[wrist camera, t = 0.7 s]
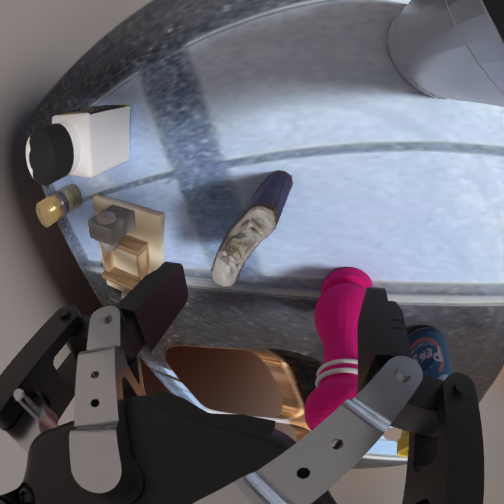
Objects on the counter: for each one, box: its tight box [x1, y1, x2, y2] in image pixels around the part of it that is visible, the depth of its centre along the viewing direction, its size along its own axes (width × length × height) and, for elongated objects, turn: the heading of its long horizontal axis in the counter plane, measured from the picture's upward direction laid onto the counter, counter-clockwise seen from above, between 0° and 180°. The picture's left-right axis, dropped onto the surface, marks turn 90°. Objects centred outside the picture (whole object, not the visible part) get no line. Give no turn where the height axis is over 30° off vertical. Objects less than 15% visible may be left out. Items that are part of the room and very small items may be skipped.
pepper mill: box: [305, 268, 373, 430], centre depth 23 cm, size 7×7×20 cm
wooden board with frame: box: [88, 194, 164, 301], centre depth 36 cm, size 17×12×6 cm
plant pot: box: [397, 430, 409, 457], centre depth 39 cm, size 10×10×10 cm
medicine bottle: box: [26, 105, 131, 186], centre depth 23 cm, size 7×7×12 cm
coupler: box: [36, 184, 82, 227], centre depth 33 cm, size 4×4×7 cm
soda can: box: [408, 327, 453, 381], centre depth 27 cm, size 7×7×12 cm
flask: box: [211, 170, 293, 287], centre depth 24 cm, size 9×3×11 cm, turn 151°
